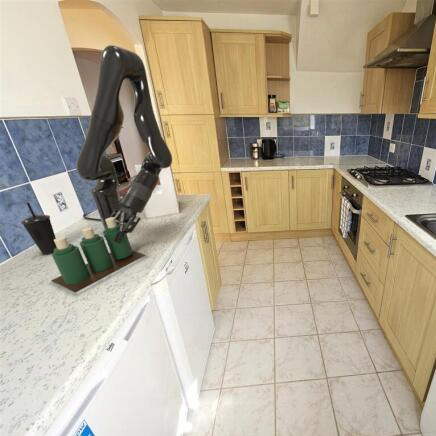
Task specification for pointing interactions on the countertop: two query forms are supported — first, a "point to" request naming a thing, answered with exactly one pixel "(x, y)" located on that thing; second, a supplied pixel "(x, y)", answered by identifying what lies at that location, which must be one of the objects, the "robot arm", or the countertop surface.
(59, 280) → the serving board
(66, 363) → the countertop surface
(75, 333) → the countertop surface
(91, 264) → the middle bottle
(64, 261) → the near bottle
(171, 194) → the white tall block
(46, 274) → the countertop surface
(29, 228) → the drinking cup
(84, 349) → the countertop surface
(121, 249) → the green bottle
